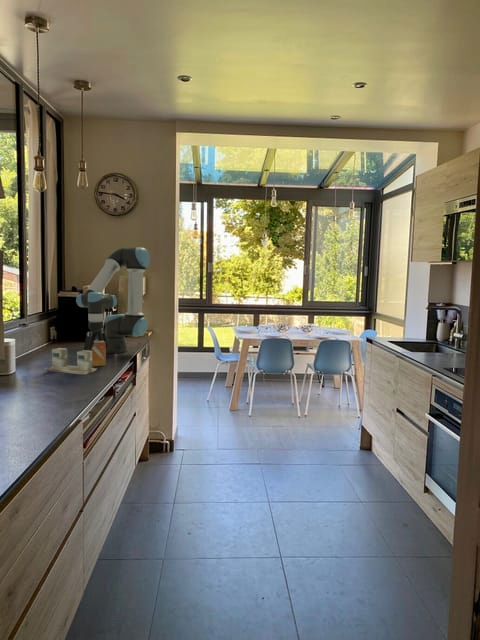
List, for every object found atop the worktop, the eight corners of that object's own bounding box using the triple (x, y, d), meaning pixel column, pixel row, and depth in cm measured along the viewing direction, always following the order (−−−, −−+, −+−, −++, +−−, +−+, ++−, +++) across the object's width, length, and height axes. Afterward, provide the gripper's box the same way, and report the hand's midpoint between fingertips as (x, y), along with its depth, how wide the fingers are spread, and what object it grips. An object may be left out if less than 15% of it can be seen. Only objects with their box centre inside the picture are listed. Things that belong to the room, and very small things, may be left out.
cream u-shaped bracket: (61, 366, 233) (60, 347, 232) (96, 370, 227) (96, 350, 226) (47, 370, 224) (46, 350, 222) (84, 374, 217) (84, 353, 216)
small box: (90, 367, 234) (90, 343, 232) (87, 364, 239) (87, 341, 237) (106, 365, 238) (105, 341, 236) (102, 363, 243) (102, 339, 242)
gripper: (102, 318, 248) (103, 356, 250) (75, 323, 225) (76, 365, 228) (114, 319, 246) (115, 357, 248) (88, 324, 223) (89, 366, 226)
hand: (96, 361), depth 238 cm, fingers open, 11 cm apart
